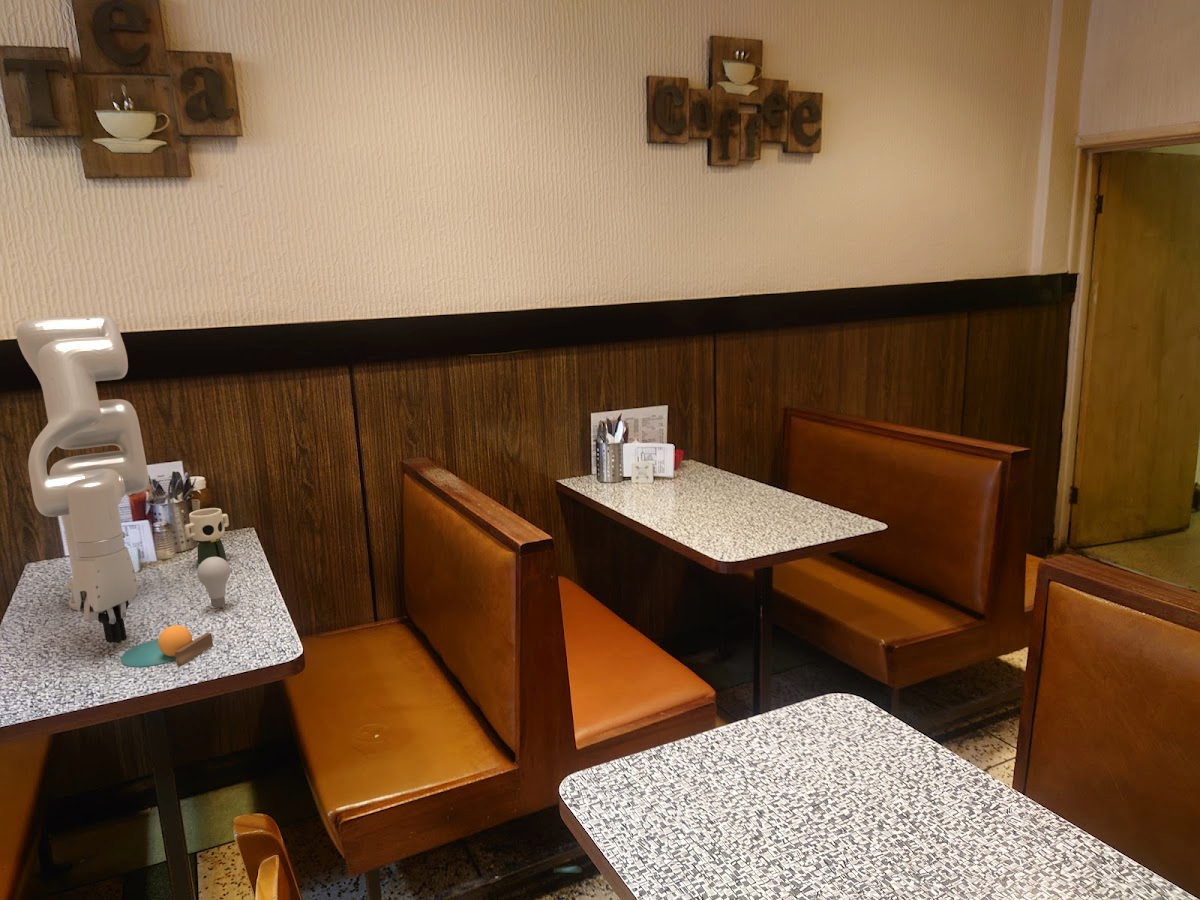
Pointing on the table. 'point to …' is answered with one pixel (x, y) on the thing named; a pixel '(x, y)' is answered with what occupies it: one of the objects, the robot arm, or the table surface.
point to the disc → (145, 655)
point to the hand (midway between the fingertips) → (116, 640)
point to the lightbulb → (214, 579)
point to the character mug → (208, 532)
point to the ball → (173, 639)
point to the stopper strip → (193, 649)
